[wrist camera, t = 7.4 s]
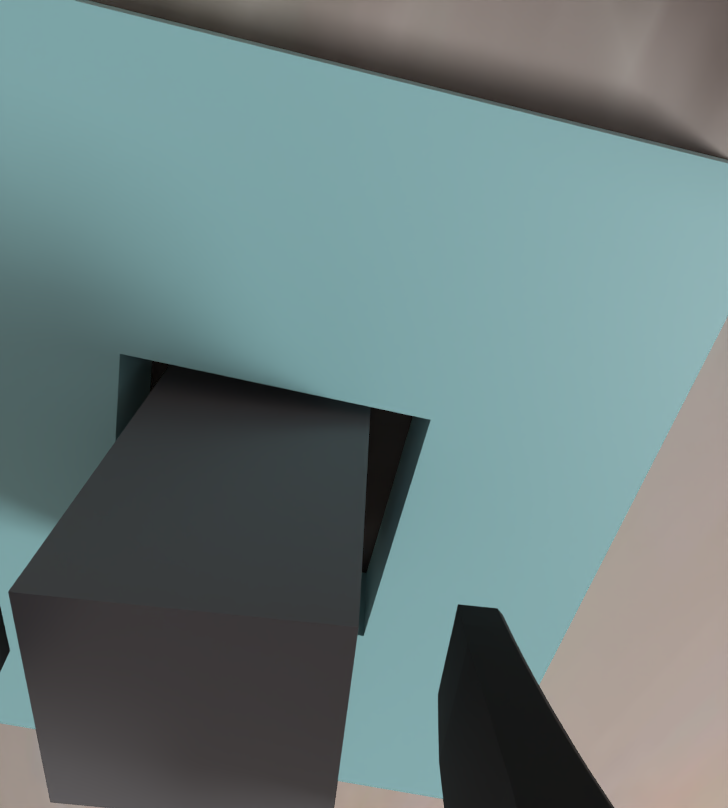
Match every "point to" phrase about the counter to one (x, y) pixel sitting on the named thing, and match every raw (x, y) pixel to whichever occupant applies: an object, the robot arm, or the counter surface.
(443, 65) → the counter surface
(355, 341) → the socket plate
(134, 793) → the plug
